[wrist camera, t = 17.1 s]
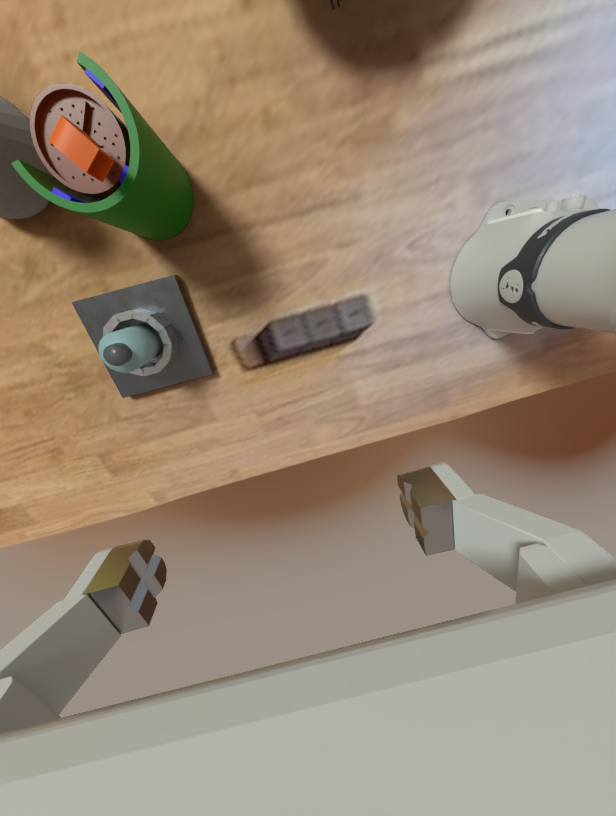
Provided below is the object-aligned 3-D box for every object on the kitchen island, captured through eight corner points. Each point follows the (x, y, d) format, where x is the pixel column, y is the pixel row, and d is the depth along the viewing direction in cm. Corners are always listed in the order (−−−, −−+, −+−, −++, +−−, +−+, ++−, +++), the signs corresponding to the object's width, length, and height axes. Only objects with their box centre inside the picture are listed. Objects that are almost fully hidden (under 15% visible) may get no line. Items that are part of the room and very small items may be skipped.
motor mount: (177, 275, 41) (166, 274, 37) (214, 371, 46) (208, 379, 42) (78, 301, 41) (56, 303, 37) (127, 394, 46) (112, 405, 42)
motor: (134, 127, 35) (-27, -50, 16) (206, 178, 37) (139, 75, 19) (105, 214, 37) (-60, 147, 19) (174, 256, 40) (88, 233, 22)
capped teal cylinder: (156, 319, 41) (125, 328, 32) (171, 352, 43) (145, 370, 34) (122, 328, 41) (82, 340, 32) (139, 361, 43) (105, 381, 34)
